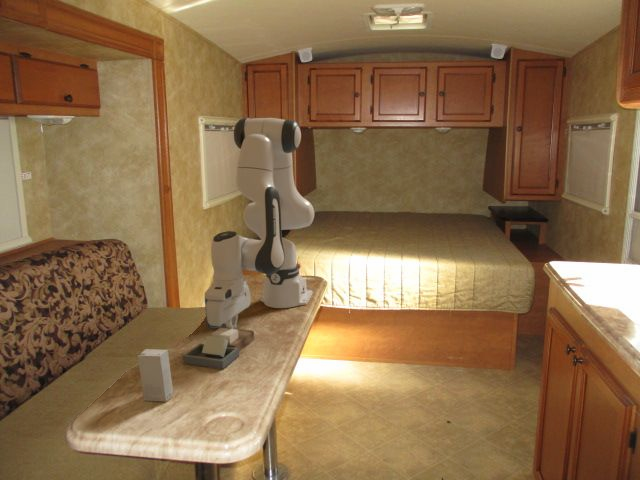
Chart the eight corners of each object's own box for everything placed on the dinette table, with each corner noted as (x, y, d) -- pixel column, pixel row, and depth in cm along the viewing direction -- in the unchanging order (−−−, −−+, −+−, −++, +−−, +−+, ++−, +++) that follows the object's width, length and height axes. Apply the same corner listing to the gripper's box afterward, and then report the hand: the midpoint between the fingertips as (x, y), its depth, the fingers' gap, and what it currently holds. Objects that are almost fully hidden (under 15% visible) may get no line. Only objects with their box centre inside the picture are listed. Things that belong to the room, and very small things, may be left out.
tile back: (221, 335, 159) (220, 327, 158) (238, 337, 157) (237, 329, 156) (212, 341, 154) (211, 333, 154) (230, 343, 152) (229, 335, 152)
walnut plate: (226, 336, 166) (225, 327, 165) (254, 339, 162) (253, 330, 162) (205, 351, 155) (204, 342, 154) (235, 355, 151) (234, 345, 151)
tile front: (210, 338, 153) (206, 335, 151) (228, 340, 151) (224, 338, 149) (205, 355, 151) (201, 352, 149) (223, 357, 149) (219, 355, 147)
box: (200, 351, 155) (200, 343, 155) (239, 356, 151) (238, 348, 150) (183, 363, 147) (182, 355, 146) (223, 369, 142) (222, 361, 142)
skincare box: (174, 394, 130) (169, 348, 127) (165, 403, 125) (160, 356, 123) (151, 392, 131) (146, 347, 128) (142, 401, 127) (137, 355, 124)
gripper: (236, 276, 167) (239, 317, 169) (201, 295, 148) (204, 341, 151) (254, 277, 164) (256, 319, 167) (220, 297, 146) (223, 343, 148)
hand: (231, 329), depth 159 cm, fingers closed
